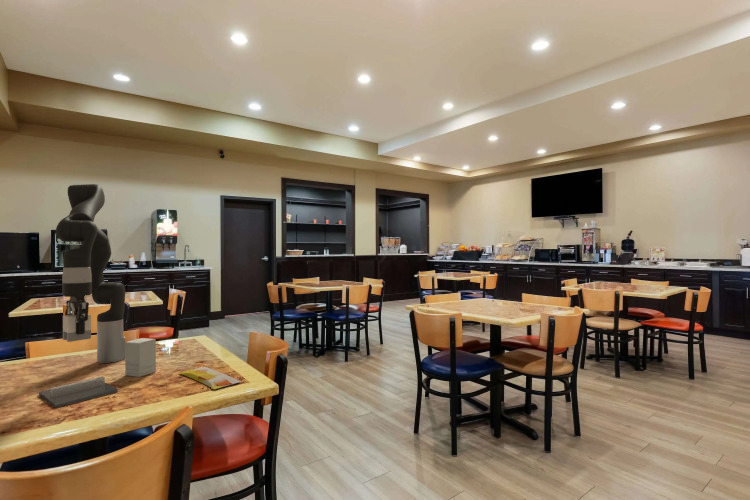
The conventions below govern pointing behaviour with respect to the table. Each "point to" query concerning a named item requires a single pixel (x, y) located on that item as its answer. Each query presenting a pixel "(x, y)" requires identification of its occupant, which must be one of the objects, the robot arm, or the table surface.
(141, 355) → the supplement box
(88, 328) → the block
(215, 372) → the food package
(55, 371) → the table surface
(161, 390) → the table surface
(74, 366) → the table surface
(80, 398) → the rail board
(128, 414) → the table surface
